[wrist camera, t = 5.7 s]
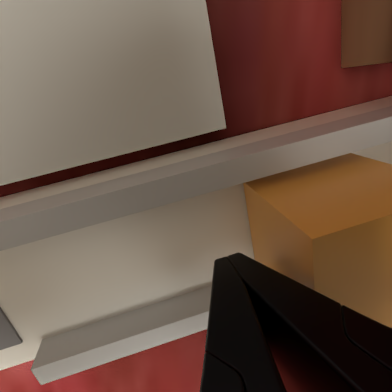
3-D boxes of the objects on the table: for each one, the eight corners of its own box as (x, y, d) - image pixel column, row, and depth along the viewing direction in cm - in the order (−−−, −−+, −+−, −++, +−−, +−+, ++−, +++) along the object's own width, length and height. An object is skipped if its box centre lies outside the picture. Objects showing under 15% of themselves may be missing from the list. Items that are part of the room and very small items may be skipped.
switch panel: (438, 83, 11) (522, 81, 9) (421, 209, 14) (484, 235, 11) (-71, 215, 9) (-147, 261, 7) (13, 338, 11) (-21, 405, 9)
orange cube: (347, 151, 10) (474, 187, 6) (346, 236, 11) (448, 306, 7) (242, 181, 9) (312, 239, 6) (255, 264, 11) (317, 354, 7)
